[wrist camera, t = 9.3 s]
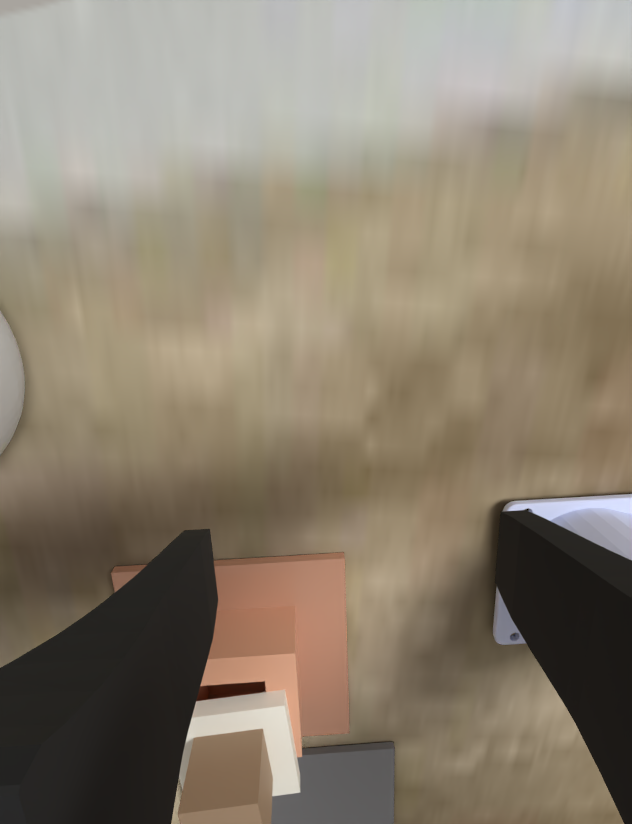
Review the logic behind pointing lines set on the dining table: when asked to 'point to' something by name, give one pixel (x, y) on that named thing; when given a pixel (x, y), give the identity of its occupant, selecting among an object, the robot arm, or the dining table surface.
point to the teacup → (10, 384)
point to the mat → (341, 786)
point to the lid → (237, 760)
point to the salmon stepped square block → (280, 636)
